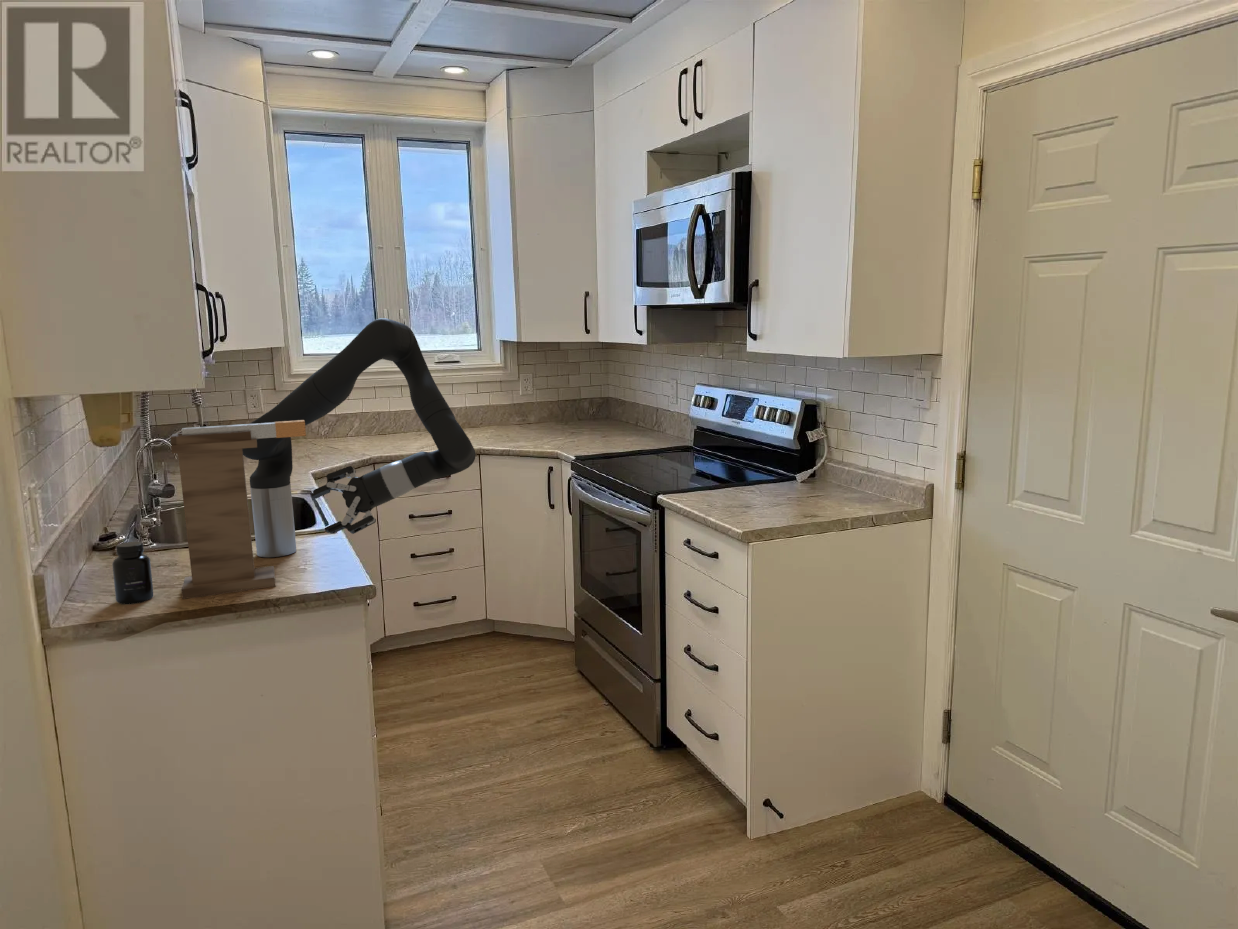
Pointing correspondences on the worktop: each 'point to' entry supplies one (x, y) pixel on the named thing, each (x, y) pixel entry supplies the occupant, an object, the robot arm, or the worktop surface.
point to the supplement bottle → (132, 574)
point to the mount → (217, 514)
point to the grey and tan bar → (255, 429)
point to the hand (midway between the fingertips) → (319, 513)
